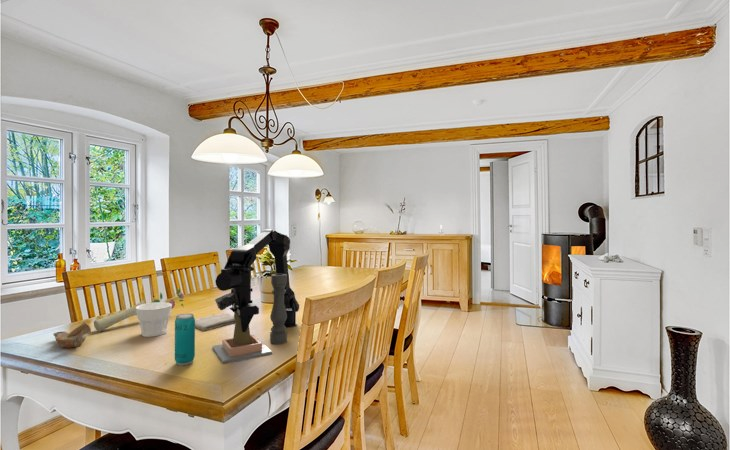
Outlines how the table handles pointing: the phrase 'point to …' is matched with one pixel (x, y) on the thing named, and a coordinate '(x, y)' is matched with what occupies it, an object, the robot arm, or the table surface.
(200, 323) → the washcloth
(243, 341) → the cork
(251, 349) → the shaker socket
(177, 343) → the beverage can
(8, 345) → the table surface
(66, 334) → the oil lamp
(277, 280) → the candle holder
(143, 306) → the cup
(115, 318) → the flower vase
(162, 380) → the table surface
